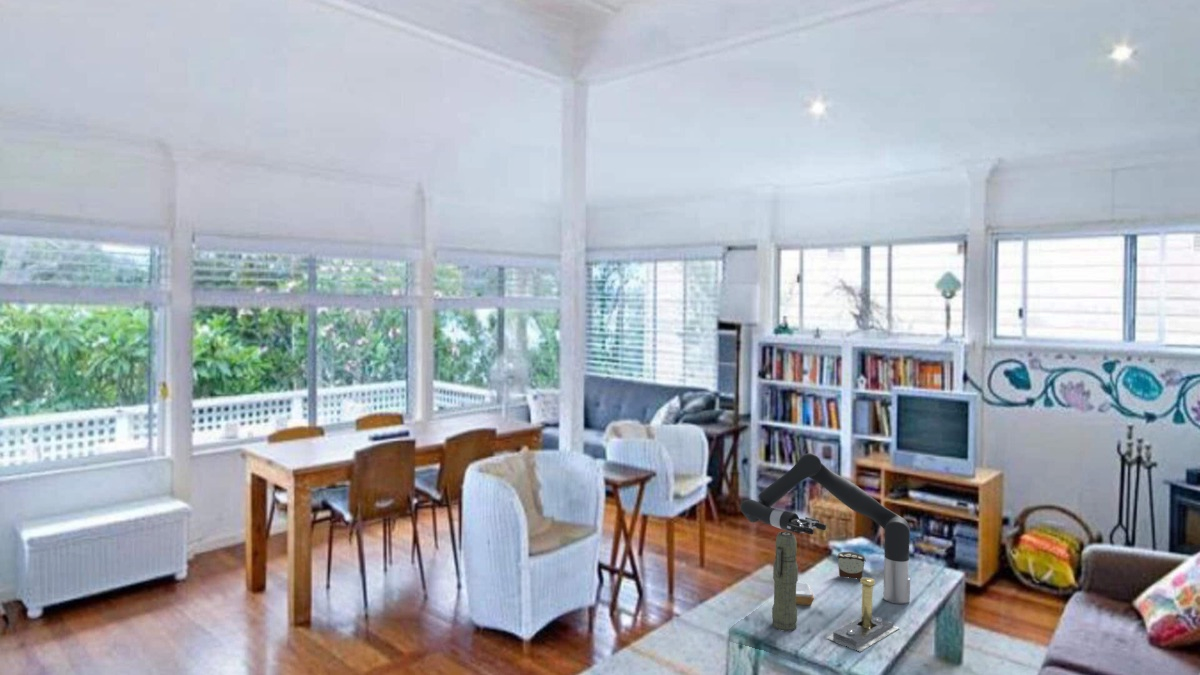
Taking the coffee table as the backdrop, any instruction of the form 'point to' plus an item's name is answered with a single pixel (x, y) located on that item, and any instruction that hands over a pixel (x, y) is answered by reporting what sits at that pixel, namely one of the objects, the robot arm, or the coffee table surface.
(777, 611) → the thermos
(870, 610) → the brass pin
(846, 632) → the bolted mounting plate
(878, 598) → the coffee table surface
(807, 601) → the soap dish
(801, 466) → the robot arm
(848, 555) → the food container
